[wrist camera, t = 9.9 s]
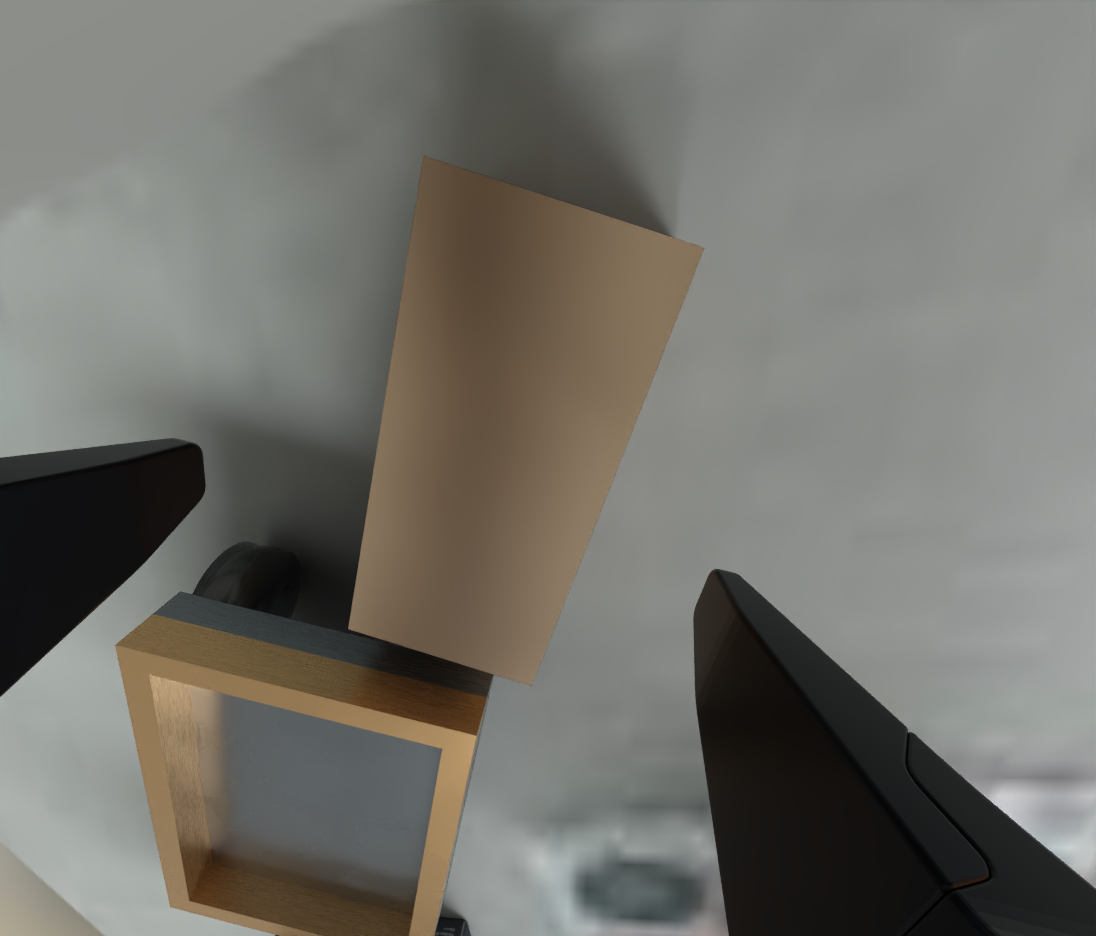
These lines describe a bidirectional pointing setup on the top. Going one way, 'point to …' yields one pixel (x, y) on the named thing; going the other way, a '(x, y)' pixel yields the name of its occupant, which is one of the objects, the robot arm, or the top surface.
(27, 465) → the robot arm
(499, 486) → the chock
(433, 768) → the wooden frame tray
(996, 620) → the top surface
